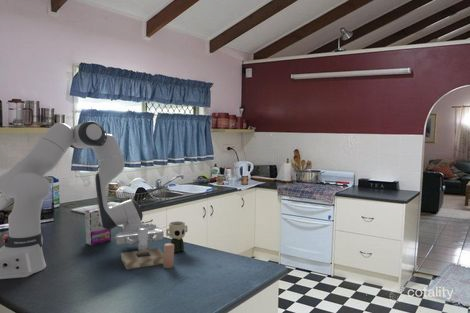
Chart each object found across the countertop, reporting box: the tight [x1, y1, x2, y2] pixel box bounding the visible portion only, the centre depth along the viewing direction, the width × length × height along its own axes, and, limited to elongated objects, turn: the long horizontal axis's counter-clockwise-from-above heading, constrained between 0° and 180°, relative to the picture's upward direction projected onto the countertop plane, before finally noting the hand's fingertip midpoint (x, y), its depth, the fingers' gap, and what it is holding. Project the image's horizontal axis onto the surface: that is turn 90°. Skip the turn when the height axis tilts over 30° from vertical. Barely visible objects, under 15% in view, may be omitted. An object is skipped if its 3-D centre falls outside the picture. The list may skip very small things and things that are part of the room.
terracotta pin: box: [163, 242, 175, 269], centre depth 157 cm, size 4×4×9 cm
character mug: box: [165, 221, 188, 253], centre depth 176 cm, size 11×7×13 cm, turn 129°
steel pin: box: [137, 228, 149, 258], centre depth 163 cm, size 4×4×14 cm
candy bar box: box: [84, 207, 112, 246], centre depth 189 cm, size 11×5×16 cm, turn 143°
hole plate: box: [120, 247, 164, 270], centre depth 163 cm, size 16×12×3 cm
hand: (143, 241), depth 162 cm, fingers open, 8 cm apart
